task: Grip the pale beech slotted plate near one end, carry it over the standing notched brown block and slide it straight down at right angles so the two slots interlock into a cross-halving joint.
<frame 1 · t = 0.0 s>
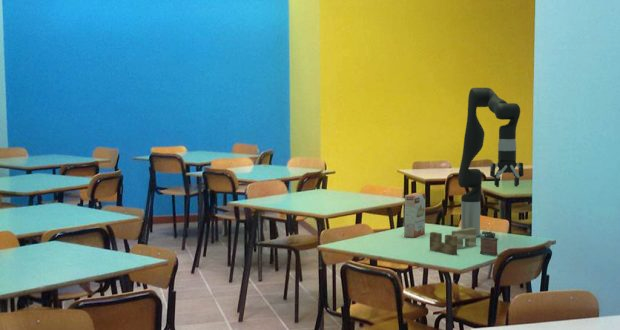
hand: (506, 186, 330), 29 cm above the table, fingers open, 8 cm apart
notched brown block: (443, 252, 335), on the table
cracker box: (414, 236, 378), on the table
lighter: (488, 254, 330), on the table
beech plate: (463, 246, 347), on the table
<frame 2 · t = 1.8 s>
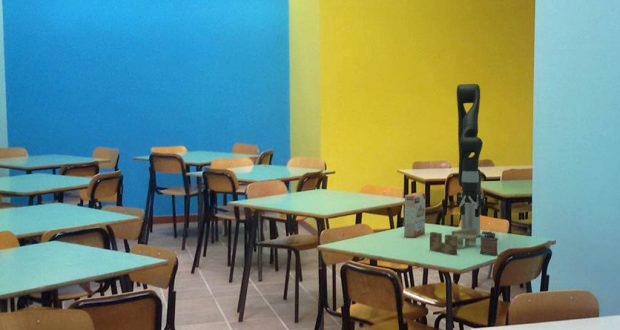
hand: (469, 216, 348), 14 cm above the table, fingers open, 8 cm apart
nothing on the table moved.
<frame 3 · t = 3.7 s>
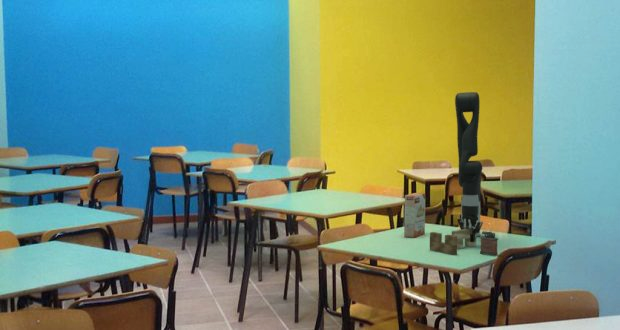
hand: (469, 241, 349), 2 cm above the table, fingers closed on beech plate, 2 cm apart
beech plate: (463, 246, 347), on the table, touching gripper
everything else where it was.
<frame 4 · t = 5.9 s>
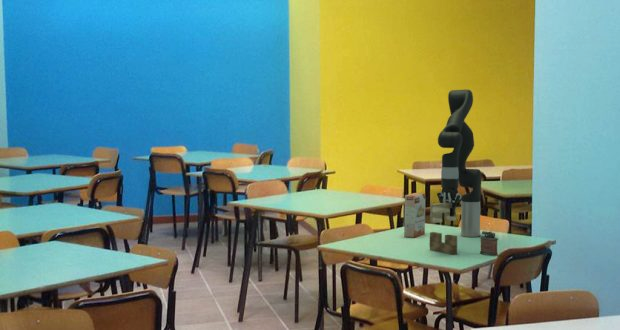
hand: (449, 215, 337), 16 cm above the table, fingers closed on beech plate, 2 cm apart
beech plate: (443, 221, 334), point 14 cm above the table, touching gripper
everything else where it was.
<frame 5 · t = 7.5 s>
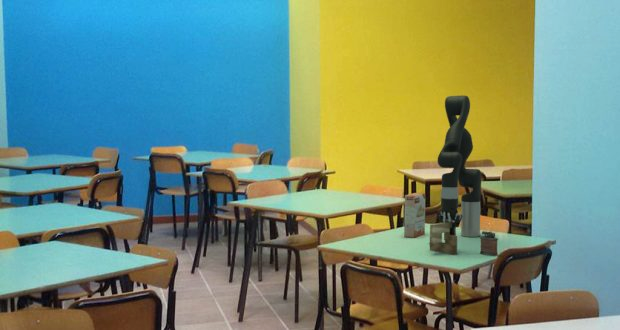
hand: (449, 235, 337), 7 cm above the table, fingers closed on beech plate, 2 cm apart
beech plate: (443, 241, 335), point 5 cm above the table, touching gripper
everything else where it was.
when the fingers open (3 cm above the table, at t = 8.6 s): beech plate stays where it is, resting on notched brown block.
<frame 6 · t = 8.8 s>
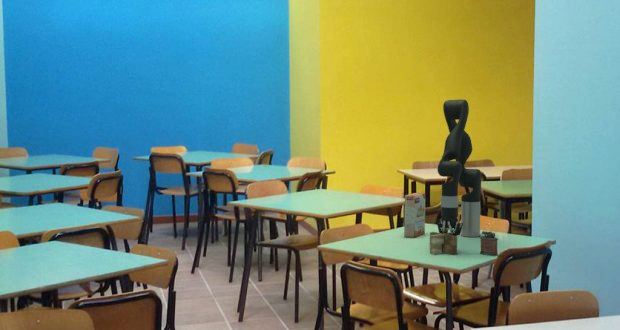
hand: (449, 243, 338), 3 cm above the table, fingers open, 4 cm apart
beech plate: (442, 252, 336), resting on notched brown block
everything else where it was.
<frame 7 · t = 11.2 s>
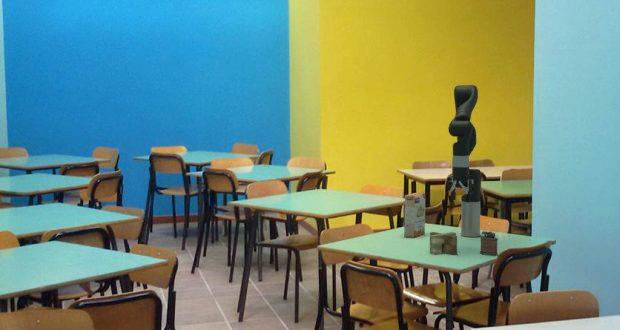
hand: (460, 201, 341), 22 cm above the table, fingers open, 8 cm apart
nothing on the table moved.
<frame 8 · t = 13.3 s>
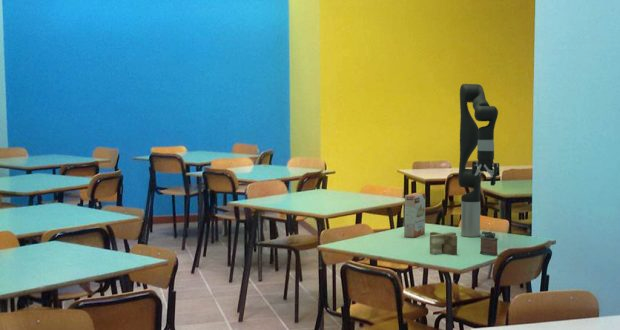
hand: (485, 184, 349), 28 cm above the table, fingers open, 8 cm apart
nothing on the table moved.
at the end: beech plate 0.1 cm off-centre on the notched brown block, point 0.0 cm above the notched brown block's base; beech plate tilted 0°; the gripper is holding nothing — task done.
